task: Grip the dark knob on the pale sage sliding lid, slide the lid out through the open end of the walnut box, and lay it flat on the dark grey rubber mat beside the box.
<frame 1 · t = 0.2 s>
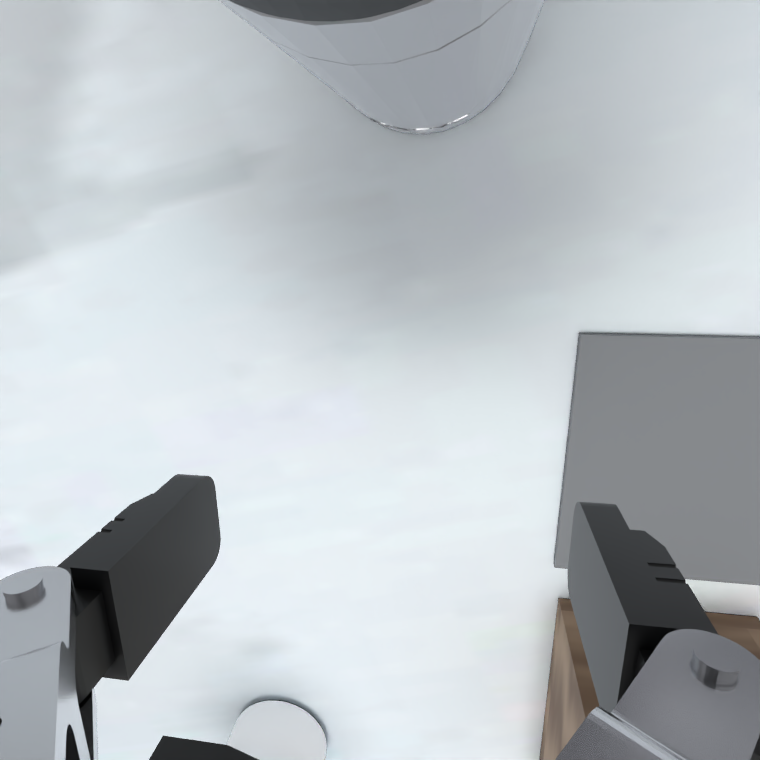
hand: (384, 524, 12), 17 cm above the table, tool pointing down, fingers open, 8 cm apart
water bottle: (284, 728, 40), on the table
box: (638, 696, 34), on the table
mat: (682, 463, 28), on the table
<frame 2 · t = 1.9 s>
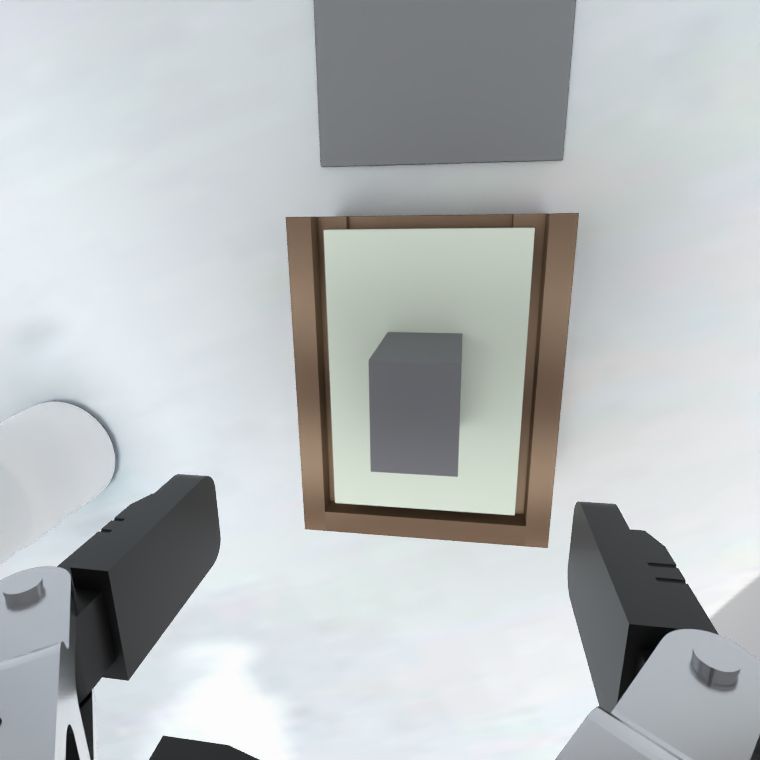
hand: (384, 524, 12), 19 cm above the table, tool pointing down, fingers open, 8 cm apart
water bottle: (74, 446, 36), on the table
box: (434, 347, 30), on the table
lid: (425, 373, 23), point 7 cm above the table, touching box
mat: (440, 2, 25), on the table
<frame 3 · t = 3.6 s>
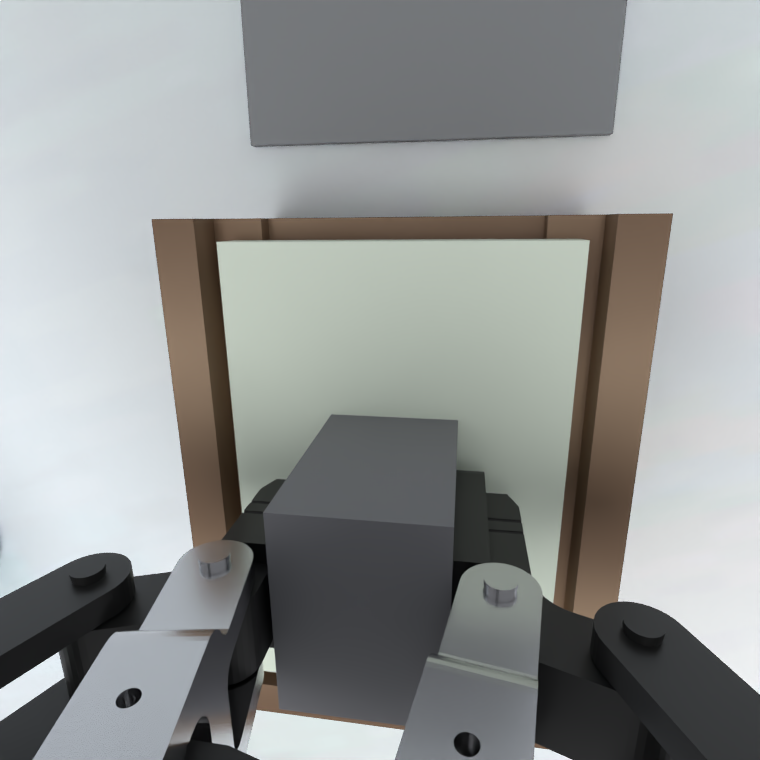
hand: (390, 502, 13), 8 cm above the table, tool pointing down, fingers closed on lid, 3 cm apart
box: (420, 405, 21), on the table
lid: (398, 475, 14), point 7 cm above the table, touching box, gripper
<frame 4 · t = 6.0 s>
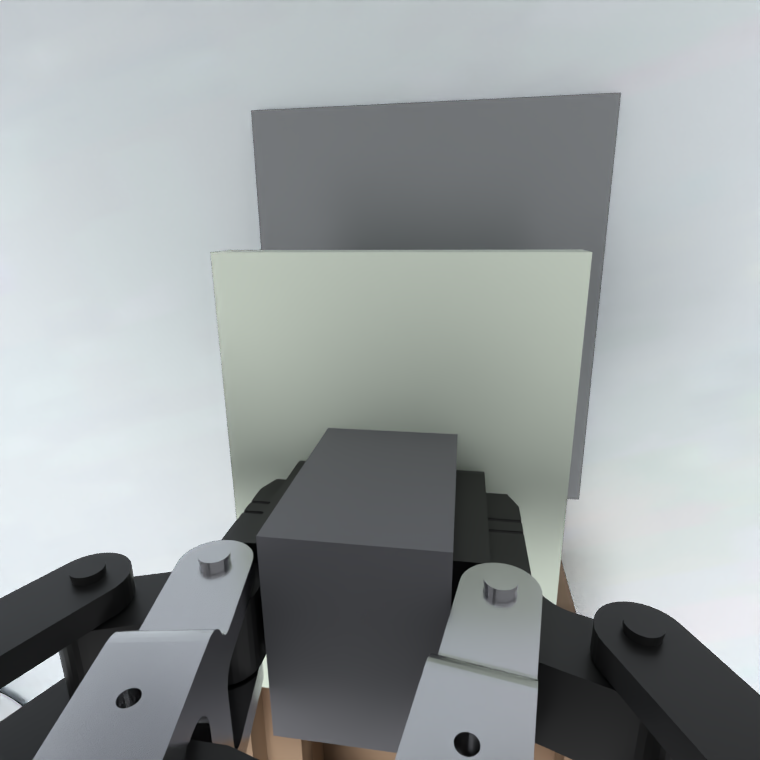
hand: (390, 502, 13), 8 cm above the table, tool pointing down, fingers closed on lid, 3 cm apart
box: (420, 672, 24), on the table
lid: (397, 488, 14), point 7 cm above the table, touching gripper
mat: (424, 313, 20), on the table
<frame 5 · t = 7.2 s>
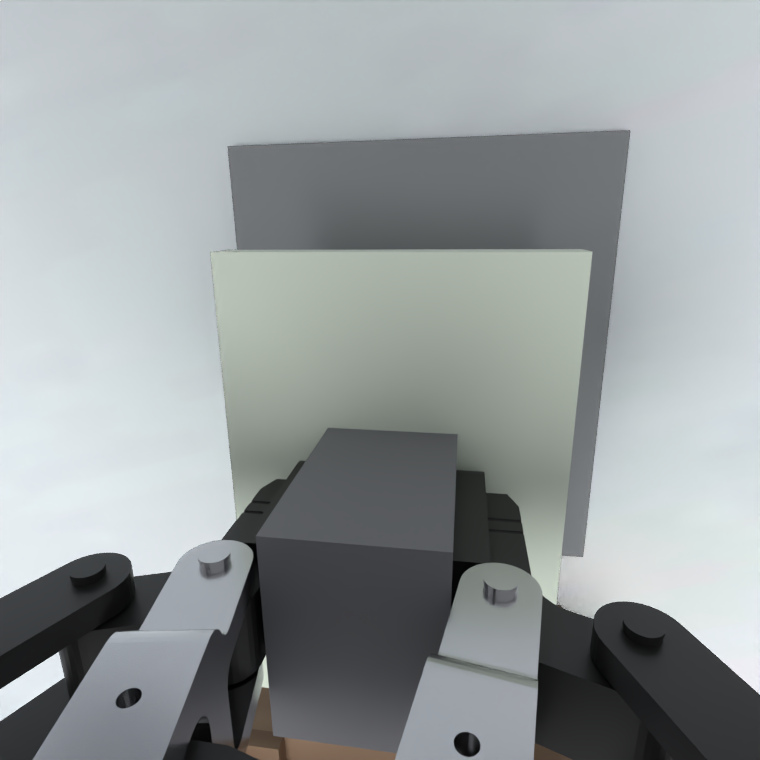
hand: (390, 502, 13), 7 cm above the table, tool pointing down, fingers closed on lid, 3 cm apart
box: (416, 727, 23), on the table
lid: (396, 488, 14), point 5 cm above the table, touching gripper
mat: (417, 361, 18), on the table
when the fingers open (4 cm above the table, at t = 8.4 s): lid drops 2 cm, resting on mat.
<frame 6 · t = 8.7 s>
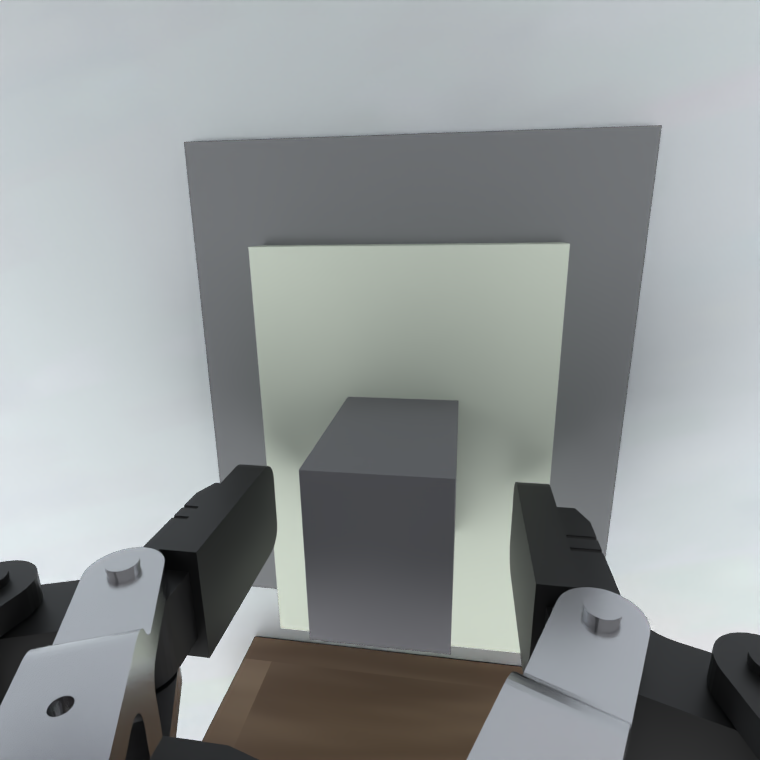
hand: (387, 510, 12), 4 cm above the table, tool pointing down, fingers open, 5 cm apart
lid: (406, 451, 16), resting on mat
mat: (406, 394, 16), on the table
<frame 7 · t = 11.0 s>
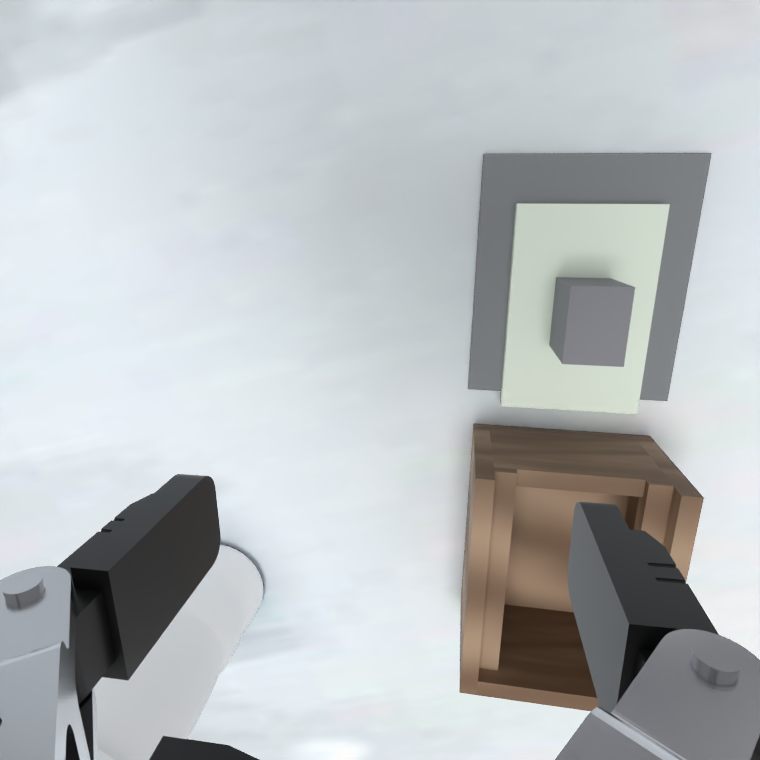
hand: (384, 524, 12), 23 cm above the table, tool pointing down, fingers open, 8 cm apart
water bottle: (224, 577, 42), on the table
box: (548, 525, 36), on the table
lid: (575, 310, 32), resting on mat
mat: (577, 281, 32), on the table
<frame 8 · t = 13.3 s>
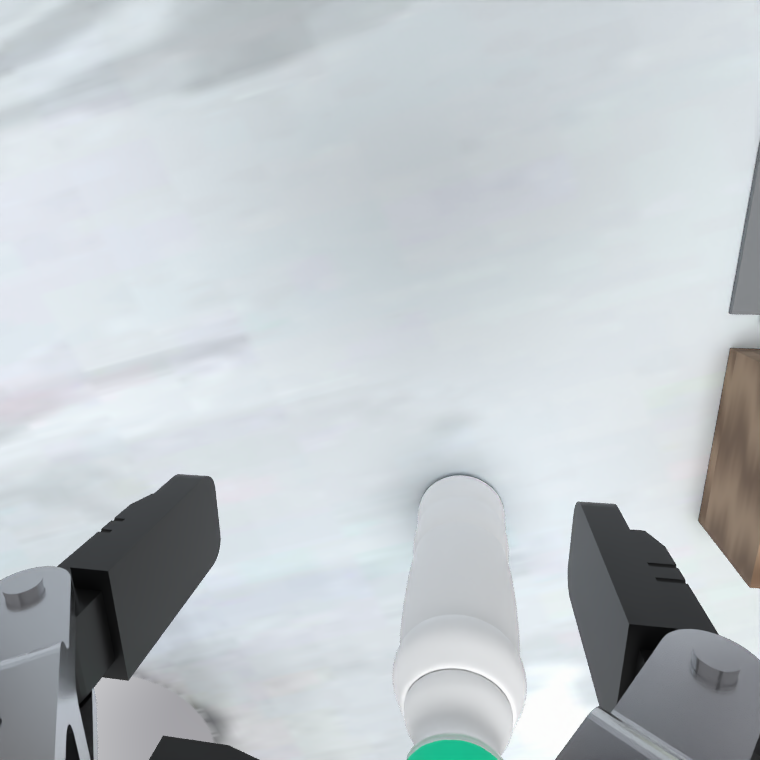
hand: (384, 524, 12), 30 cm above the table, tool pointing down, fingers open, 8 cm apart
water bottle: (461, 508, 45), on the table
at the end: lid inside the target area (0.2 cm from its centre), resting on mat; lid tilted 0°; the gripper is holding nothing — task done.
